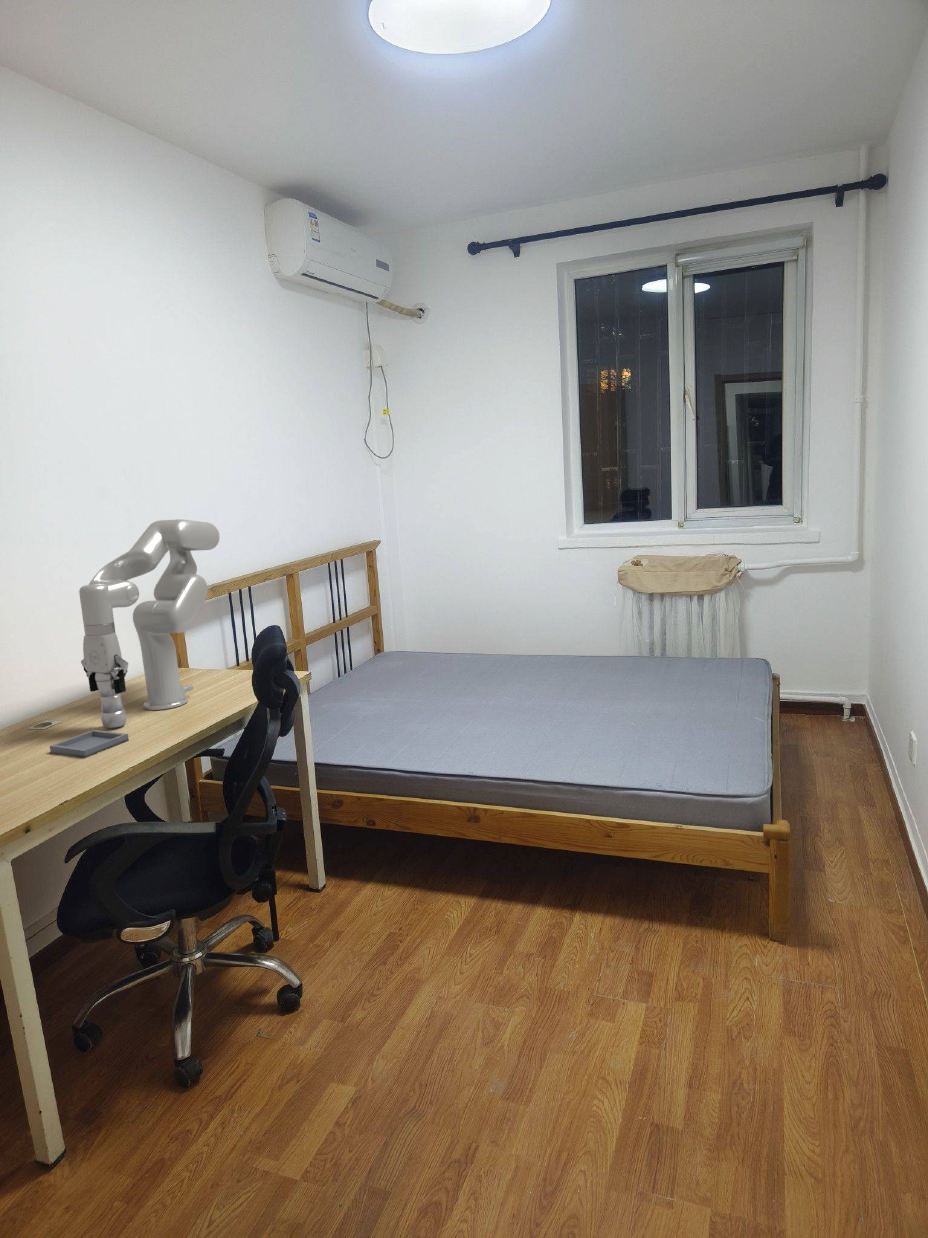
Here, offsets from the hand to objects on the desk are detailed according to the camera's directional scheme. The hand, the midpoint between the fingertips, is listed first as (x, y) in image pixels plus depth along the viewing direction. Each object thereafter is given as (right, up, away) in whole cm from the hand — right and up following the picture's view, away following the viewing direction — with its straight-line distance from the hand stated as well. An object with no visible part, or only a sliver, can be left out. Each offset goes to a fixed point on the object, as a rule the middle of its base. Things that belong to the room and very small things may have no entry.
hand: (108, 691), depth 215 cm
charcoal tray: (+1, -13, -13) cm, 18 cm away
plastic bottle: (+1, -10, +3) cm, 11 cm away
